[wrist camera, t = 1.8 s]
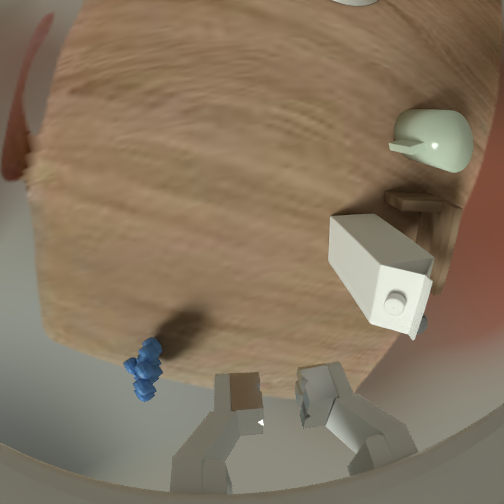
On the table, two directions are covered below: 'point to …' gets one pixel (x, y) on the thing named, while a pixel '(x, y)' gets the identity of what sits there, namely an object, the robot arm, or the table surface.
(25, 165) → the table surface
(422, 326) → the grey shaker
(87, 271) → the table surface
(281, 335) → the table surface
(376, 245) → the milk carton
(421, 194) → the walnut holder
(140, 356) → the grapes
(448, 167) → the sage mug
